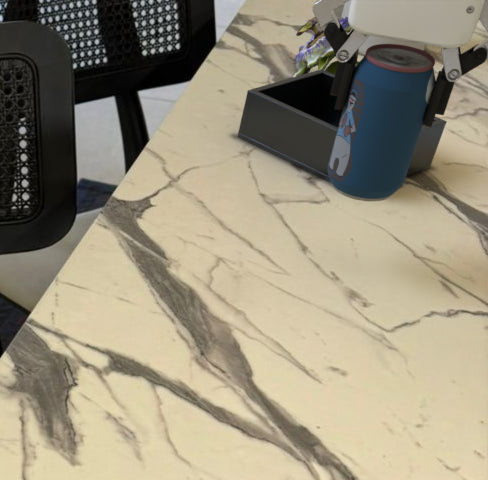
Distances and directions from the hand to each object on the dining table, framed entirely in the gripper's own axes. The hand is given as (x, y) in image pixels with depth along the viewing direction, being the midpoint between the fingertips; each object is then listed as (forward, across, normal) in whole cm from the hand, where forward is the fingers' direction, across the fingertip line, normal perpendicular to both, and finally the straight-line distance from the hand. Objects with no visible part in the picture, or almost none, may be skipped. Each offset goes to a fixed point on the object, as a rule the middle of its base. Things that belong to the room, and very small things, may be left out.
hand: (384, 111), depth 90 cm
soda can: (+7, 0, 0) cm, 7 cm away
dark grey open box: (+15, +4, -26) cm, 30 cm away
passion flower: (+16, +7, -46) cm, 49 cm away
